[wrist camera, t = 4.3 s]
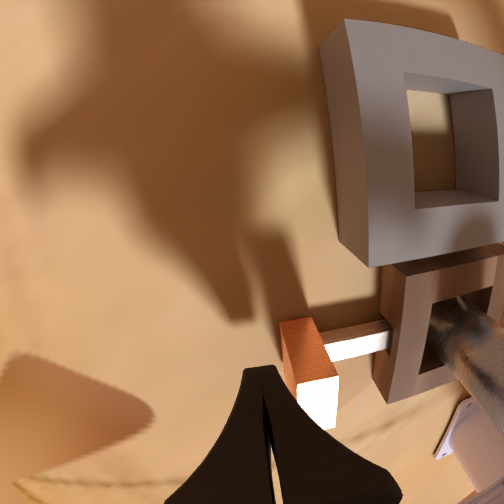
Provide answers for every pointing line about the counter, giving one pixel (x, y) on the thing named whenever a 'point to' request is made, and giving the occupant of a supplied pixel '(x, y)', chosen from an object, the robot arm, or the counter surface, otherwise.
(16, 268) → the counter surface
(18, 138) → the counter surface
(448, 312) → the rounded metal peg
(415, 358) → the socket block
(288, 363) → the pin
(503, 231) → the block
